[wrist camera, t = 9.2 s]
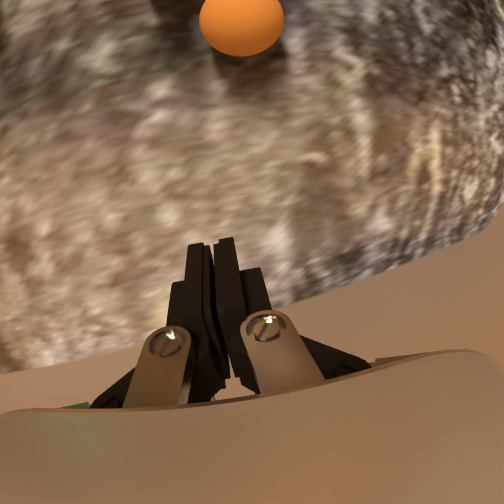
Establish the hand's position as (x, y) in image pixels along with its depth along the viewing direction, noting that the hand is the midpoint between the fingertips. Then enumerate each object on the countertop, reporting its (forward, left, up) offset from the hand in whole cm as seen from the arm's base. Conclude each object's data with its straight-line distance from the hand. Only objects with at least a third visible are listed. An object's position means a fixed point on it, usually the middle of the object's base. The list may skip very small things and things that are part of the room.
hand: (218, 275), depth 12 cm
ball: (+4, +12, -14) cm, 18 cm away
